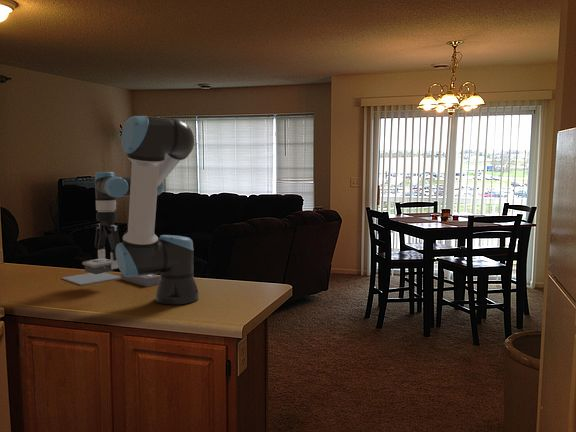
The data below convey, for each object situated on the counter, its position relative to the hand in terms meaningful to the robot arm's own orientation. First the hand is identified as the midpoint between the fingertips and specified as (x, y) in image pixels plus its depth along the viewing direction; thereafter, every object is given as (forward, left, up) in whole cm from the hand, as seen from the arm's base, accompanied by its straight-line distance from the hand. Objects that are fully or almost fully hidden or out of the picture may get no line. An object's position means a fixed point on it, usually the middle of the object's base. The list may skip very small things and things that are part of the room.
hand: (108, 266), depth 201 cm
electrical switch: (+1, 0, -1) cm, 2 cm away
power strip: (-2, -13, -8) cm, 15 cm away
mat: (+18, -2, -8) cm, 20 cm away
